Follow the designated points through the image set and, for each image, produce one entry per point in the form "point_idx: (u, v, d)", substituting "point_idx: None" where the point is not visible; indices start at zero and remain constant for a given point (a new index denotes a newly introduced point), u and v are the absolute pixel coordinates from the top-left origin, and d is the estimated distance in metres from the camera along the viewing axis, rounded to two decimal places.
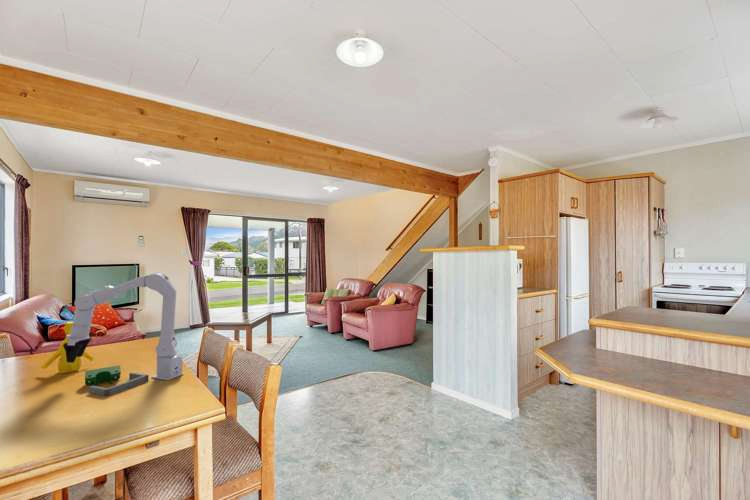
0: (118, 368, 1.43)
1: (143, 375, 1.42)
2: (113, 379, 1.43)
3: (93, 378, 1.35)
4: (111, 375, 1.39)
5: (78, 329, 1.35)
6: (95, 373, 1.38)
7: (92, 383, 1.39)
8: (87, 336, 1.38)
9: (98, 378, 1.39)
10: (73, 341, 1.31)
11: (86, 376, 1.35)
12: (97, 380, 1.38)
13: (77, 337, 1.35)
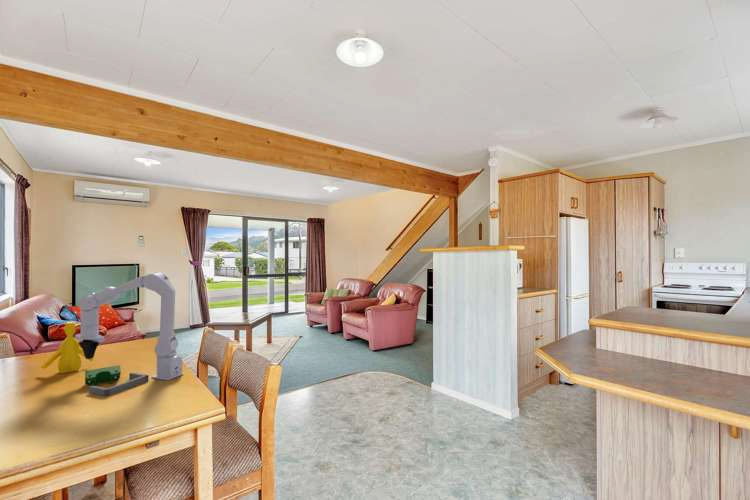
0: (118, 368, 1.43)
1: (143, 375, 1.42)
2: (113, 379, 1.43)
3: (93, 378, 1.35)
4: (111, 375, 1.39)
5: (95, 328, 1.41)
6: (95, 372, 1.38)
7: (92, 383, 1.39)
8: None
9: (98, 378, 1.39)
10: (103, 337, 1.40)
11: (86, 376, 1.35)
12: (97, 380, 1.38)
13: (95, 336, 1.42)
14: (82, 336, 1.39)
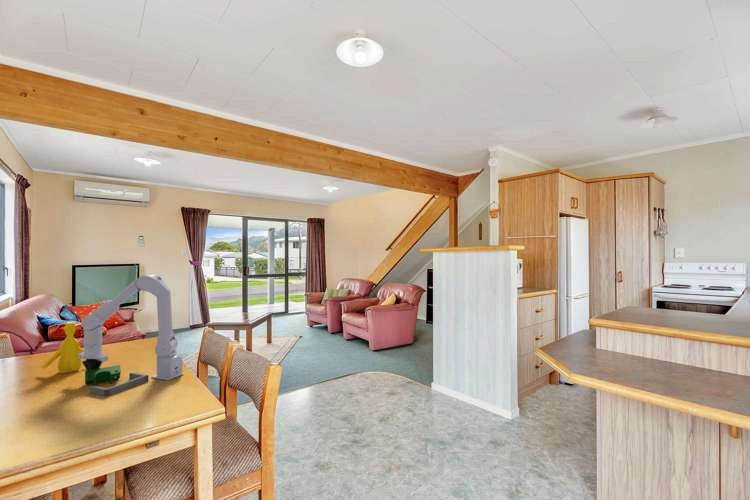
0: (118, 368, 1.43)
1: (143, 375, 1.42)
2: (113, 379, 1.43)
3: (93, 378, 1.35)
4: (111, 375, 1.39)
5: (98, 347, 1.41)
6: (95, 372, 1.38)
7: (92, 383, 1.39)
8: None
9: (98, 378, 1.39)
10: (107, 357, 1.40)
11: (86, 376, 1.35)
12: (97, 380, 1.38)
13: (98, 354, 1.41)
14: (85, 355, 1.39)
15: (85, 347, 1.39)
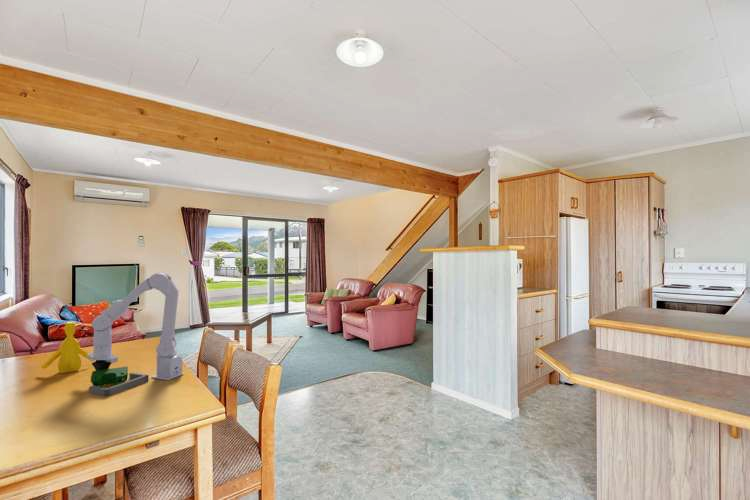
0: (125, 370, 1.40)
1: (143, 375, 1.42)
2: (120, 380, 1.40)
3: (98, 380, 1.33)
4: (116, 377, 1.36)
5: (107, 348, 1.39)
6: (101, 374, 1.35)
7: (99, 384, 1.37)
8: None
9: (105, 379, 1.37)
10: (116, 358, 1.38)
11: (92, 377, 1.33)
12: (103, 382, 1.36)
13: (108, 356, 1.39)
14: (95, 356, 1.37)
15: (95, 348, 1.37)
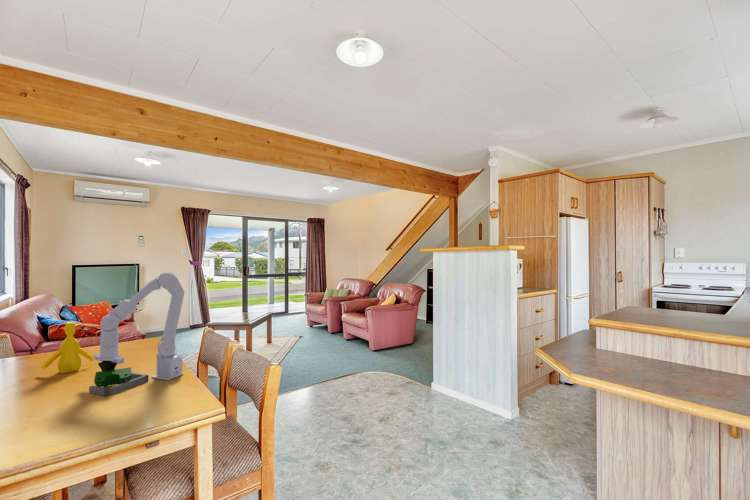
0: (128, 371, 1.38)
1: (143, 375, 1.42)
2: (124, 381, 1.39)
3: (102, 381, 1.31)
4: (120, 379, 1.34)
5: (114, 349, 1.38)
6: (105, 375, 1.34)
7: (103, 385, 1.36)
8: None
9: (108, 381, 1.35)
10: (123, 359, 1.37)
11: (95, 379, 1.31)
12: (107, 383, 1.35)
13: (114, 356, 1.38)
14: (101, 357, 1.36)
15: (101, 348, 1.36)
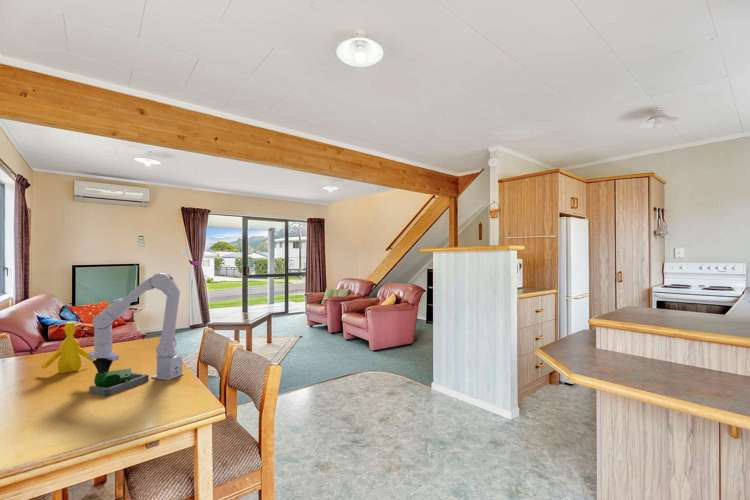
0: (128, 371, 1.39)
1: (143, 375, 1.42)
2: None
3: (102, 381, 1.32)
4: (120, 379, 1.35)
5: (108, 346, 1.39)
6: (105, 376, 1.34)
7: (103, 386, 1.36)
8: None
9: (108, 381, 1.35)
10: (117, 356, 1.38)
11: (95, 379, 1.32)
12: (107, 384, 1.35)
13: (109, 354, 1.39)
14: (96, 354, 1.37)
15: (95, 346, 1.37)
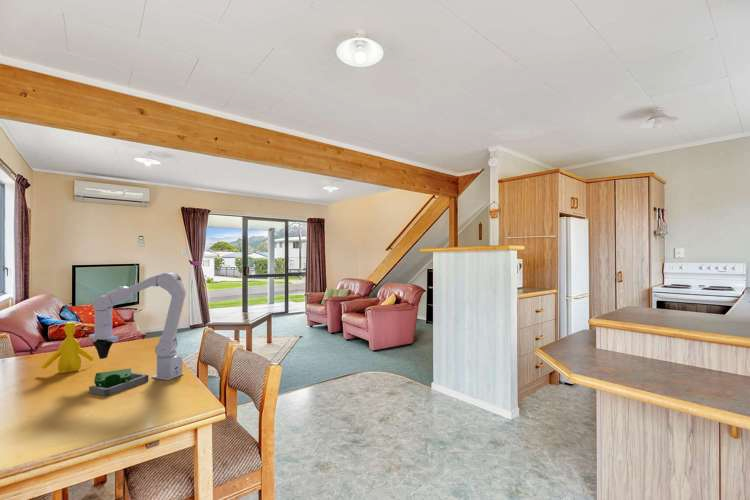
0: (128, 371, 1.39)
1: (143, 375, 1.42)
2: None
3: (102, 381, 1.32)
4: (120, 379, 1.35)
5: (108, 328, 1.42)
6: (105, 375, 1.34)
7: (103, 386, 1.36)
8: None
9: (108, 381, 1.35)
10: (117, 337, 1.41)
11: (95, 379, 1.32)
12: (107, 384, 1.35)
13: (109, 335, 1.42)
14: (96, 336, 1.40)
15: (96, 328, 1.40)
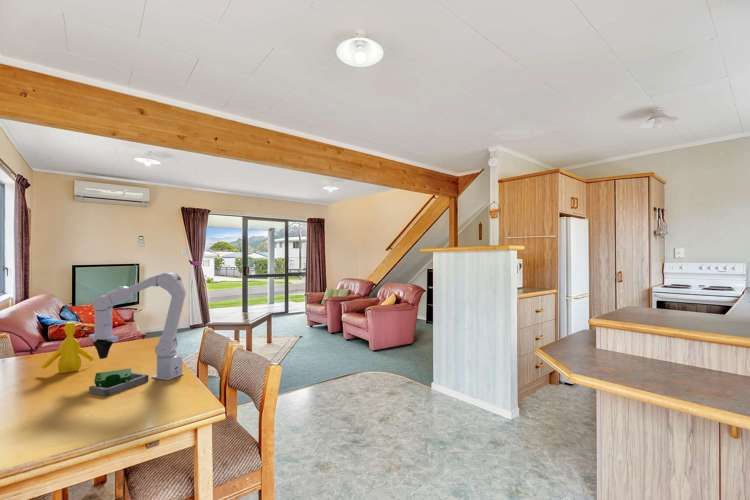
0: (128, 371, 1.39)
1: (143, 375, 1.42)
2: None
3: (102, 381, 1.32)
4: (120, 379, 1.35)
5: (108, 328, 1.42)
6: (105, 375, 1.34)
7: (103, 386, 1.36)
8: None
9: (108, 381, 1.35)
10: (117, 337, 1.41)
11: (96, 379, 1.32)
12: (107, 384, 1.35)
13: (109, 335, 1.42)
14: (96, 336, 1.40)
15: (96, 328, 1.40)
